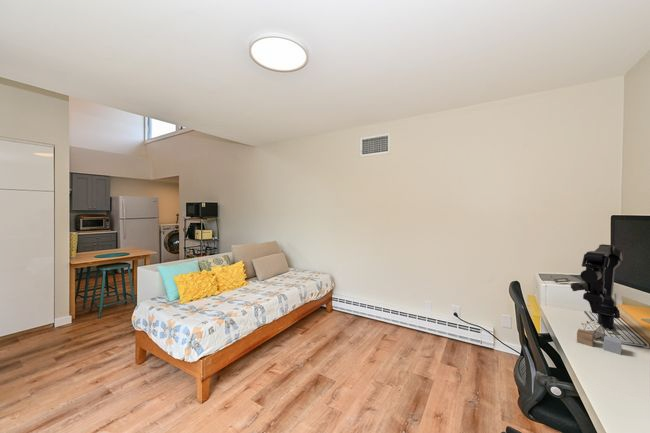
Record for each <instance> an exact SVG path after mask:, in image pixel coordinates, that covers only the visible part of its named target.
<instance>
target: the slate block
mask: <svg viewBox="0 0 650 433" xmlns="http://www.w3.org/2000/svg"><path fill="white" fill-rule="evenodd" d="M606 335H607V334H605V336H603V351H605V352H609V353H613V354H616V355H620V356H621V355H622V349H623V348H622V347H623V344H622V343H623V340H622V339H621V338H617V337H613V336H609V335H607V336H606Z"/></svg>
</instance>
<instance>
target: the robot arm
mask: <svg viewBox="0 0 650 433" xmlns="http://www.w3.org/2000/svg"><path fill="white" fill-rule="evenodd" d="M622 261H623V254H622V251H621V250H619V249H618V248H616V247H615V245H613V244H599V245H598V247H597V248H596V249H595V250H589V251H587V252H586V253H584V254H583V258H582V262H581V267H585V269H584V270H582V271H581V273H580V276H579V277H580V279H581V280H582V281H578V282H572V283H570V284H569V285H570V289H571V290H572V292H577V291H584V293H583V295H582V297H583V300H584V301H586V302H588V303H589V307H590V311H591V314H596V315H597V322H596V323H598V324H600V325H601V324H603V325H602V327H603V328H606V329H605V330H610V331H611V330H612V331H615V329H616V325H615V324H614V323H615V319H616V320H617V319H620V318H621V313H620V309H619V307H618V306H617V302H616V300H615V299H614V298H613V295H614V294H613V292H614V281H615V274H616V273H615V271H616V269H617V268H618V267H619V266H620V265H621V262H622Z"/></svg>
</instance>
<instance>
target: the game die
mask: <svg viewBox="0 0 650 433" xmlns="http://www.w3.org/2000/svg"><path fill="white" fill-rule="evenodd" d="M581 325H583V330H586V331H590V332H594V341H596V339H597V338H600V339H602V337H605V335H606V336H608V335H607V334H606V332H605V331H606V330H607V329H606V328H603V327H602V325H603V324H601V325H600V324H598V323H597V322H596V321H595V320H594V319H592V320H591V321H587V320H586V323H583V322H582V323H581Z"/></svg>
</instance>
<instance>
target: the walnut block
mask: <svg viewBox="0 0 650 433" xmlns="http://www.w3.org/2000/svg"><path fill="white" fill-rule="evenodd" d="M594 341H595V340H594V332H590V331H586V330H584V329H582V328H578V329H577V331H576V343H578V344H582V345H585V346H588V347H590V348H591V347H593V345H594V343H595V342H594Z"/></svg>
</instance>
